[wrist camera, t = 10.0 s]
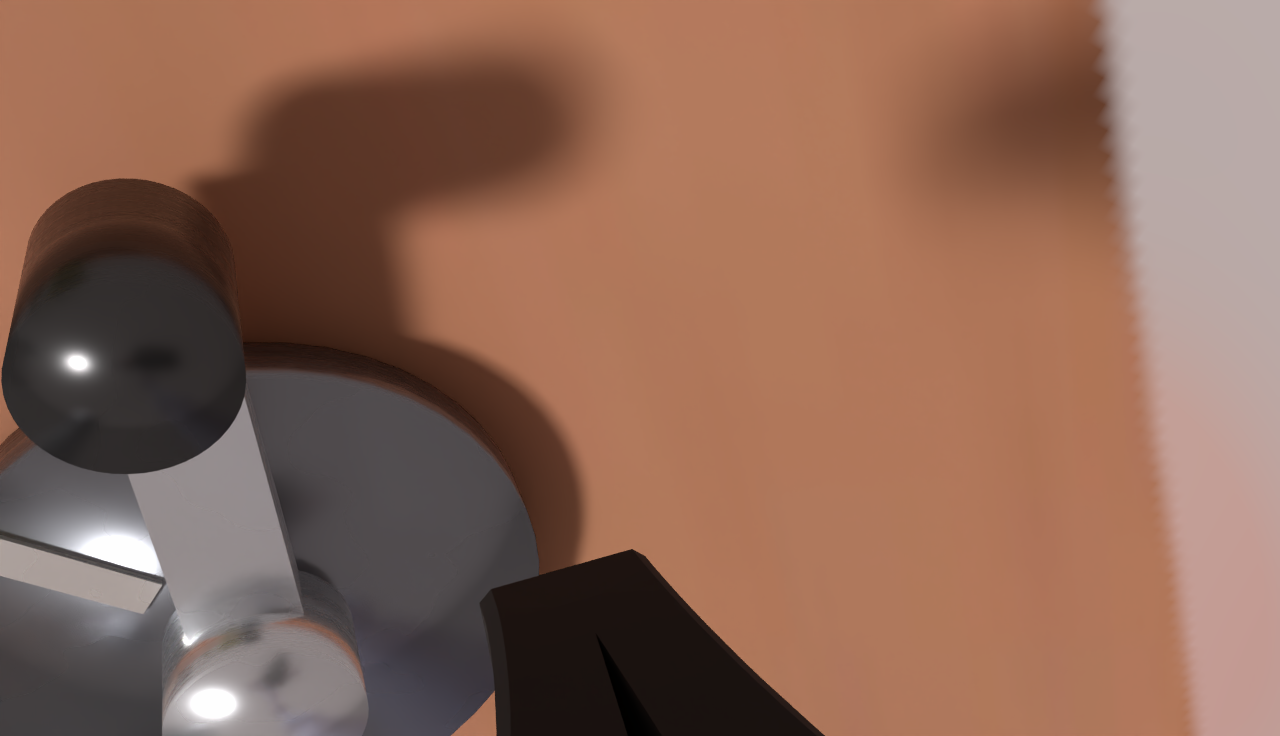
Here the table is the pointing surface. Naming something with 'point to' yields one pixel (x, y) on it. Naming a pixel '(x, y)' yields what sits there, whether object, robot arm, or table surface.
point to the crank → (180, 454)
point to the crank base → (321, 541)
